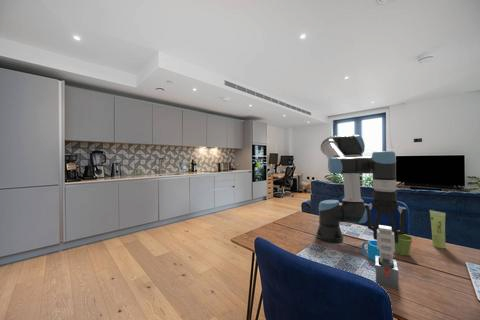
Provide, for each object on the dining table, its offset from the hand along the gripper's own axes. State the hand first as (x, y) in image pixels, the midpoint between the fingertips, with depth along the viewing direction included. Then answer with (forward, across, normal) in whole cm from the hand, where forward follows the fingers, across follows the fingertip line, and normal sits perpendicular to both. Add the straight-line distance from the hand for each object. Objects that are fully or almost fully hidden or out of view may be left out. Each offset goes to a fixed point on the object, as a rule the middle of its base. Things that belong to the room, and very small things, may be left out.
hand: (385, 249), depth 76 cm
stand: (+13, 0, 0) cm, 13 cm away
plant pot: (+14, +8, +34) cm, 38 cm away
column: (+7, 0, 0) cm, 7 cm away
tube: (+14, +25, +55) cm, 62 cm away
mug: (+14, -4, +20) cm, 25 cm away
